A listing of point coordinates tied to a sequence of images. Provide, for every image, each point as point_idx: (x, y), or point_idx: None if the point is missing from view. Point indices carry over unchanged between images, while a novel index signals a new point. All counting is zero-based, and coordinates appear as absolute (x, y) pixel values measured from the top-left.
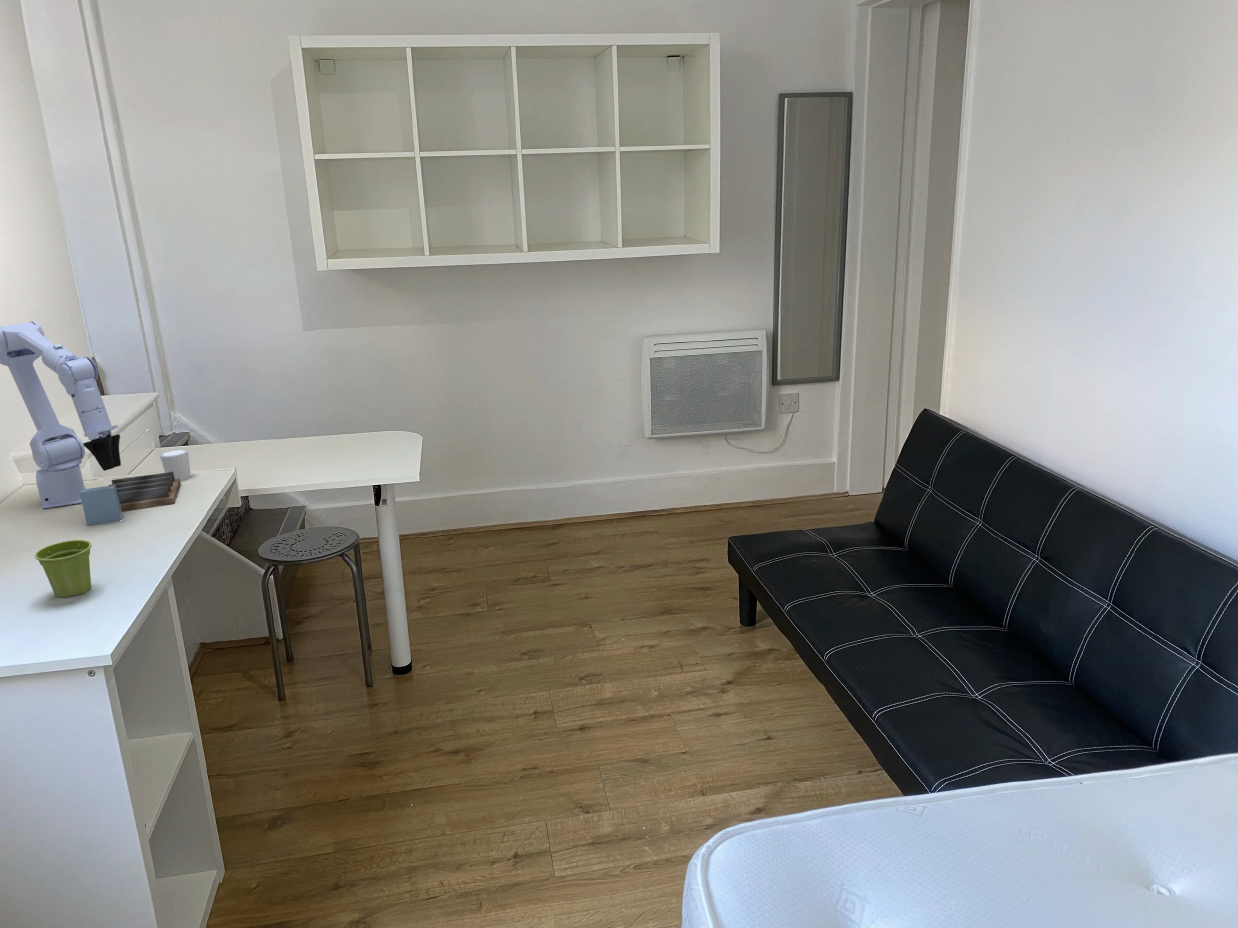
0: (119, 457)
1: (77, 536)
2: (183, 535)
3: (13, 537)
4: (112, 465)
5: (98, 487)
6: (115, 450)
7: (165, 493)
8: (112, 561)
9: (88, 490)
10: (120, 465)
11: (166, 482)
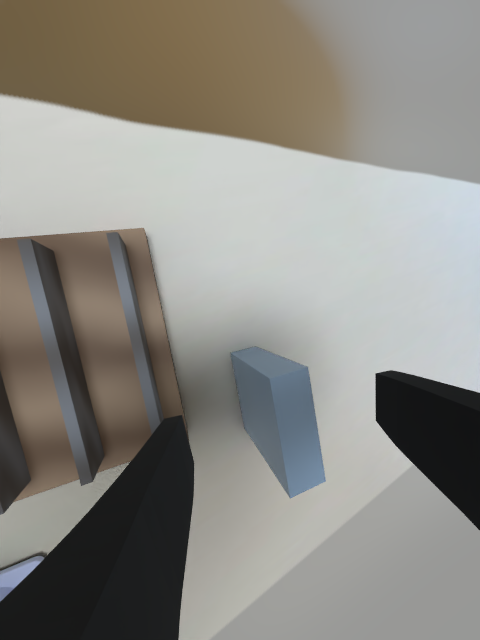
0: (163, 449)
1: (329, 406)
2: (380, 174)
3: (298, 557)
4: (409, 376)
5: (282, 439)
6: (143, 543)
7: (124, 250)
8: (450, 279)
9: (309, 460)
10: (176, 416)
11: (33, 250)
